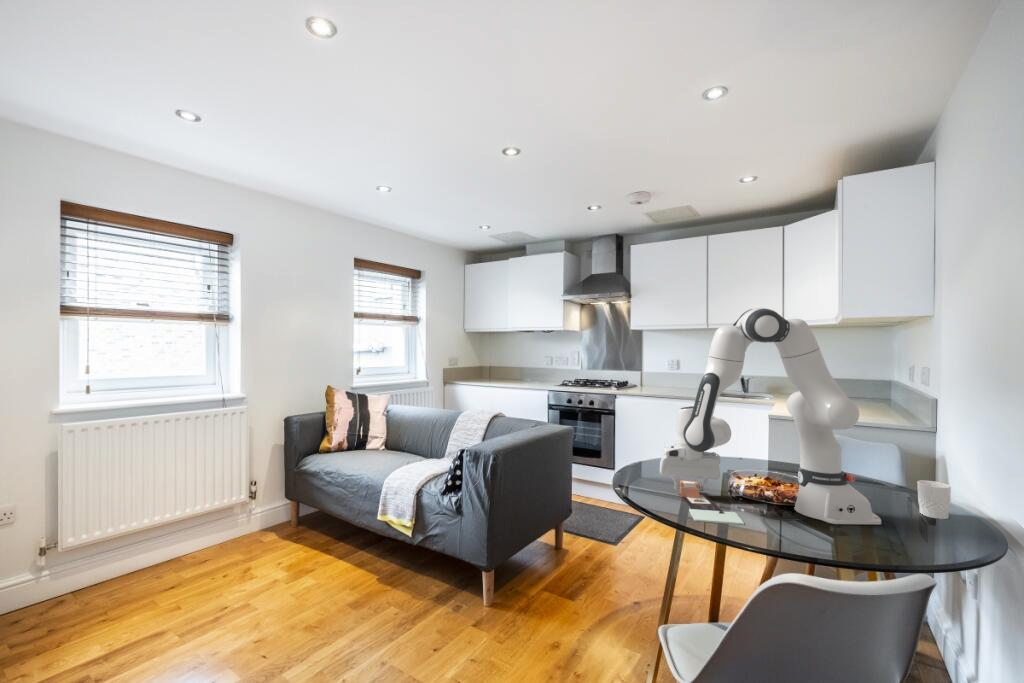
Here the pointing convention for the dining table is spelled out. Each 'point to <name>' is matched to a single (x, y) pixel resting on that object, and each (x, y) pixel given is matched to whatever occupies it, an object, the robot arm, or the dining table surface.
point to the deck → (689, 489)
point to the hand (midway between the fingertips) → (689, 489)
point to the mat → (715, 516)
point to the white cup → (934, 499)
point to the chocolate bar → (702, 503)
